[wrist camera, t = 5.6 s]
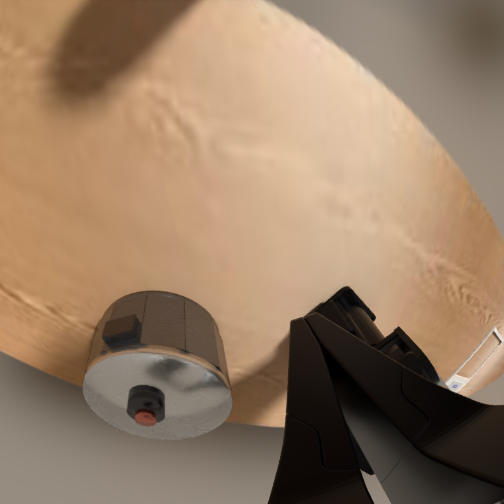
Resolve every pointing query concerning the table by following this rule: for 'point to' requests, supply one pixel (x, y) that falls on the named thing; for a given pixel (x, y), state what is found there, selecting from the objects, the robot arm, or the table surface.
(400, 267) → the table surface
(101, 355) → the lid
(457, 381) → the photo frame
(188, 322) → the pot
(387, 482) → the robot arm
